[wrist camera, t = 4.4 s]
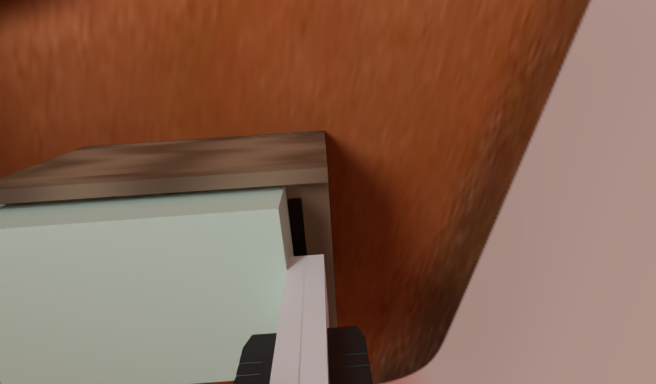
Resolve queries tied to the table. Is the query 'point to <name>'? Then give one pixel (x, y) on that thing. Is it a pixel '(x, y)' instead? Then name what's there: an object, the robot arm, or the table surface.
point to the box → (198, 179)
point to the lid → (140, 285)
